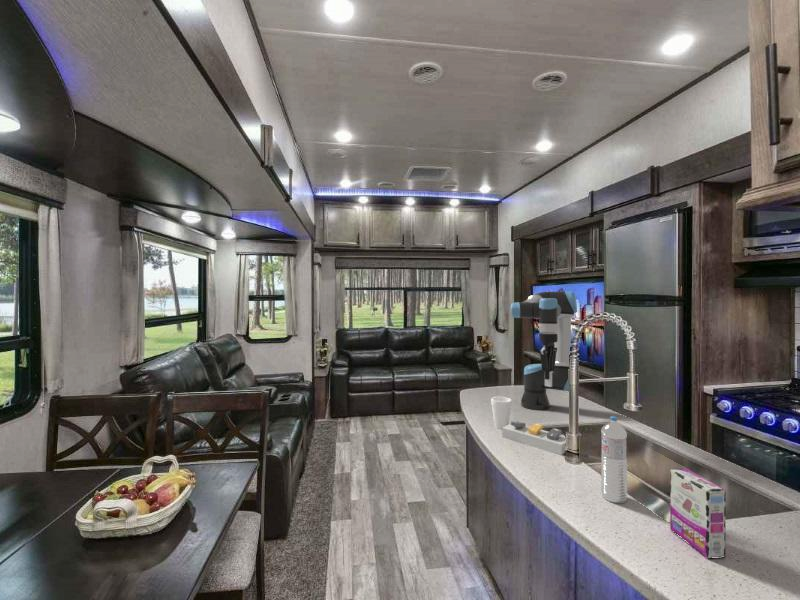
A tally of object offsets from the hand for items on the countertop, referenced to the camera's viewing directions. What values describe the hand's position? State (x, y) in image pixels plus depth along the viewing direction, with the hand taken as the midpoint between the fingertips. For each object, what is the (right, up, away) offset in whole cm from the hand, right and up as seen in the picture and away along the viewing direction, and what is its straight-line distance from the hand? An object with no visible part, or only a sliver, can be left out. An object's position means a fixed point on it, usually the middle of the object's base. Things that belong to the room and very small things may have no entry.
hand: (548, 386), depth 163 cm
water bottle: (0, -23, -50) cm, 55 cm away
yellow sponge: (-8, -17, -7) cm, 20 cm away
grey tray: (-5, -22, -9) cm, 25 cm away
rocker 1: (-14, -17, -1) cm, 21 cm away
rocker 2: (-3, -17, -12) cm, 21 cm away
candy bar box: (+9, -23, -71) cm, 75 cm away
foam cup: (-17, -22, +12) cm, 31 cm away
